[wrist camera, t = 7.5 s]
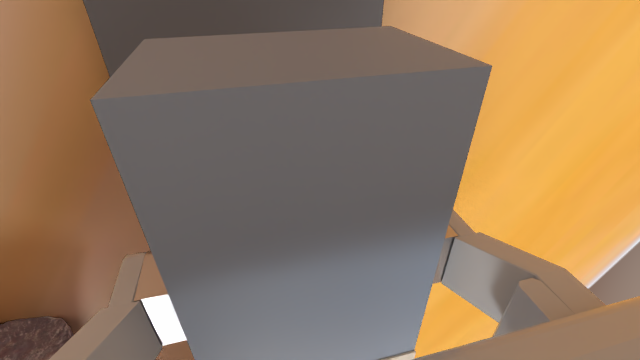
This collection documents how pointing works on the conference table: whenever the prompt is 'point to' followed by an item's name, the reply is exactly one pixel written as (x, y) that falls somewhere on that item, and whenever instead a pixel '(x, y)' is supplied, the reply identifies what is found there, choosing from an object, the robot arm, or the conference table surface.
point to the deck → (294, 183)
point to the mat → (216, 19)
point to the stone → (33, 338)
